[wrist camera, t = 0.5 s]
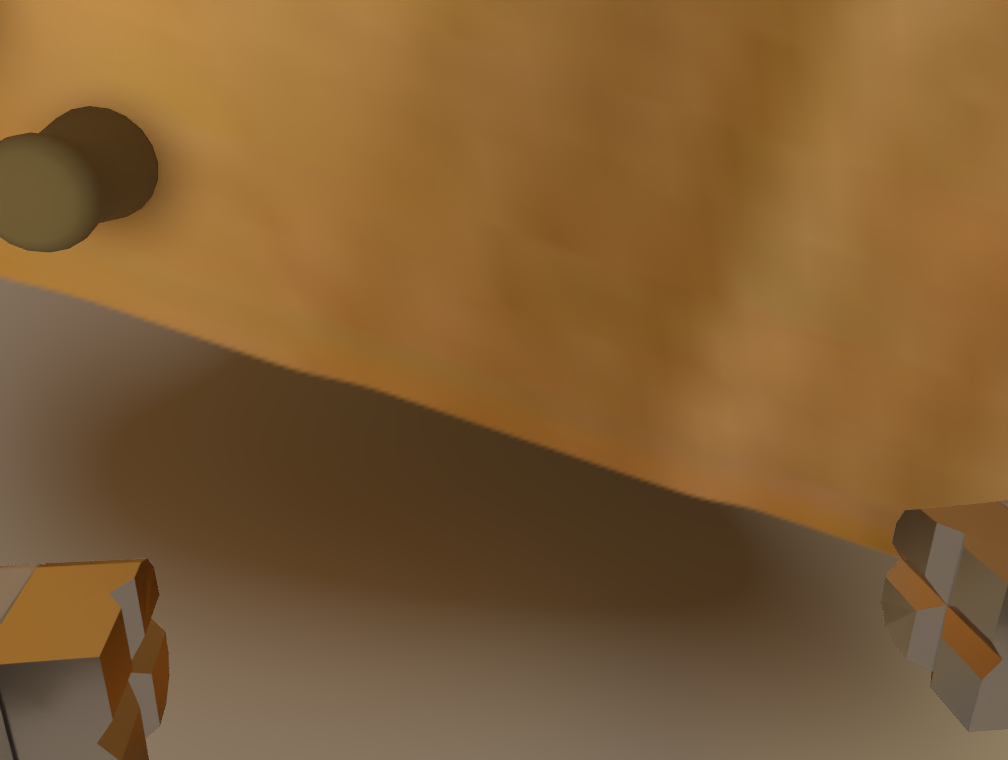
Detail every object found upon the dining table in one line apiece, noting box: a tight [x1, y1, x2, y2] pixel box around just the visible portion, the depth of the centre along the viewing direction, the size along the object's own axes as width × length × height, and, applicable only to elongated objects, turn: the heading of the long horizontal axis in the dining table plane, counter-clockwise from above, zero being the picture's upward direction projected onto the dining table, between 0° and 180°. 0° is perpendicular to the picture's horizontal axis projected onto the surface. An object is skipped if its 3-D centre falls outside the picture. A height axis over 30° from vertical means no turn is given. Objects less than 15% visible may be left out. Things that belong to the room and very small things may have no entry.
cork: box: [0, 106, 158, 252], centre depth 42 cm, size 6×6×11 cm
